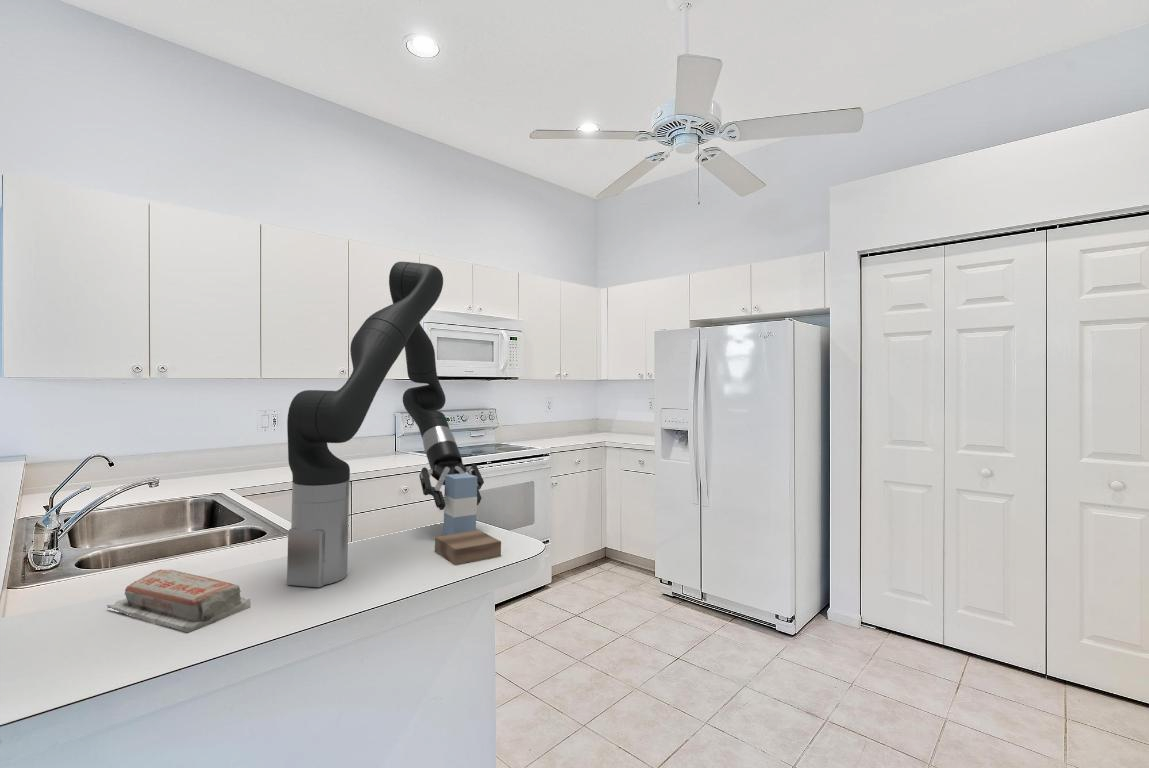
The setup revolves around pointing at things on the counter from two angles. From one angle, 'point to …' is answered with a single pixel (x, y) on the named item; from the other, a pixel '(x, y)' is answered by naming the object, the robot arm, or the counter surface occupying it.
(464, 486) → the carton
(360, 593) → the counter surface
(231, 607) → the packaged product
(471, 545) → the podium
